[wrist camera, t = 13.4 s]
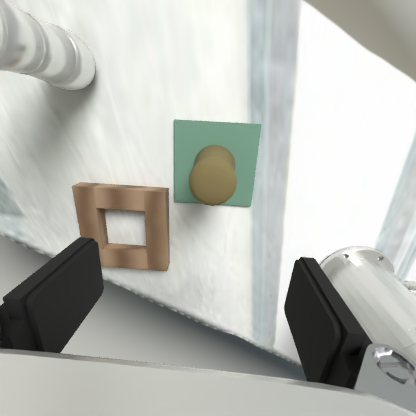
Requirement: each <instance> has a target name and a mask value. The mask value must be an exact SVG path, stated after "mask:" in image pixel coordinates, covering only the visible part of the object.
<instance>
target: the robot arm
mask: <svg viewBox="0 0 416 416" xmlns="http://www.w3.org/2000/svg"><path fill="white" fill-rule="evenodd" d="M103 289H104V287H103V278H102V270H101V262H100V254H99V246H98V242H96V241H95V240H94V239H93V238H86V237H80V238H78V239H77V240H75V241H74V242H73V243H72V244H70V245H69V246H68V247H67V248H65V249H64V250H63V251H61V252H60V253H59V254H58V255H56V256H55V257H54V258H53V259H51V260H50V261H49V262H47V263H46V264H45V265H44V266H42V267H41V268H40V269H39V270H37V271H36V272H35V273H33V274H32V275H31V276H30V277H28V278H27V279H26V280H25V281H23V282H22V283H21V284H20V285H18V286H17V287H16V288H14V289H13V290H12V291H11V292H9V293H8V294H7V295H6V296H4V297H3V301H4V303H3V304H2V305H1V306H0V416H416V293H413V292H411V291H409V290H416V282H414V281H402V280H401V279H400V278H399V277H398V276H396V275H395V274H394V268H393V265H392V263H391V261H390V260H389V259H388V258H387V257H386V256H385V255H384V254H382V253H381V252H380V251H378V250H376V249H373V248H369V247H362V246H357V247H349V248H345V249H342V250H340V251H337V252H335V253H334V254H332V255H330V256H329V257H328V258H327V259H325V260H324V261H323V263H322V264H321V265H320V266H319V264H318V263H317V261H316V260H315V259H314V258H306V257H300V259H299V260H296V261H295V264H294V268H293V272H292V276H291V280H290V284H289V289H288V293H287V297H286V301H285V306H284V311H285V315H286V318H287V321H288V324H289V327H290V330H291V333H292V336H293V339H294V342H295V345H296V348H297V351H298V354H299V357H300V360H301V363H302V366H303V369H304V373H305V376H306V379H307V381H301V380H293V379H286V378H277V377H270V376H262V375H253V374H244V373H236V372H226V371H218V370H210V369H201V368H192V367H183V366H174V365H165V364H156V363H147V362H137V361H128V360H119V359H109V358H100V357H90V356H80V355H71V354H61V353H60V352H61V351H62V350H63V348H64V347H65V345H66V344H67V343H68V341H69V340H70V338H71V337H72V336H73V334H74V333H75V331H76V330H77V329H78V327H79V326H80V324H81V323H82V322H83V320H84V319H85V317H86V316H87V315H88V313H89V312H90V310H91V309H92V308H93V306H94V305H95V303H96V302H97V301H98V299H99V298H100V296H101V295H102V293H103Z"/></svg>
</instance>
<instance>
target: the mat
mask: <svg viewBox="0 0 416 416" xmlns="http://www.w3.org/2000/svg"><path fill="white" fill-rule="evenodd" d="M260 131H261V124H245V123H227V122H209V121H191V120H174V201H176V202H192V203H201V202H199V201H198V200H197V199H196V198H195V197H194V196H193V194H192V192H191V190H190V187H189V175H190V173H191V171H192V169H193V167H194V164H195V158H196V156H197V154H198V153H199V152H200V151H201V150H202V149H203V148H205V147H207V146H209V145H220V146H223V147H225V148H227V149H228V150H229V151H230V152H231V153H232V155H233V157H234V159H235V170H234V171H235V173H236V177H237V186H236V190H235V192H234V194H233V195H232V197H231V198H230V199H229V200H227V201H226V202H225V203H222V205H237V206H251V200H252V193H253V185H254V177H255V170H256V162H257V154H258V146H259V139H260Z"/></svg>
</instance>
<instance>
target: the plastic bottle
mask: <svg viewBox="0 0 416 416" xmlns="http://www.w3.org/2000/svg"><path fill="white" fill-rule="evenodd" d="M0 70H2V71H9V72H15V73H20V74H26V75H30V76H33V77H36V78H38V79H41V80H44V81H46V82H48V83H49V84H51V85H54V86H56V87H58V88H61V89H65V90H77V89H82V88H85V87H86V86H88V85H89V84H90V83H91V81H92V80H93V77H94V75H95V60H94V57H93V54H92V52H91V50H90V48H89V47H88V46H87V45H86V43H85V42H84V41H83V40H82V39H81V38H79V37H78V36H77V35H76V34H75V33H73V32H72V31H70V30H68V29H65V28H62V27H60V26H57V25H53V24H49V23H47V22H45V21H42V20H40V19H38V18H35V17H33V16H31V15H30V14H28V13H26V12H25V11H23V10H22V9H20V8H19V7H17V6H15V5H14V4H12V3H11V2H9V1H8V0H0Z"/></svg>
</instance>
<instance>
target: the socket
mask: <svg viewBox="0 0 416 416" xmlns="http://www.w3.org/2000/svg"><path fill="white" fill-rule="evenodd" d="M72 189H73V195H74V200H75V206H76V212H77V217H78V223H79V229H80V235H81V237H86V238H93V239H94V240H95V241H96V242H98V246H99V254H100V262H101V266H106V267H120V268H133V269H146V270H160V271H167V269H168V266H169V263H170V262H169V188H160V187H144V186H129V185H113V184H98V183H82V182H80V183H78V184H76V185H73V186H72ZM104 208H105V209H120V210H135V211H145V228H146V246H139V245H126V244H112V243H108V236H107V228H106V220H105V212H104Z"/></svg>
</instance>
